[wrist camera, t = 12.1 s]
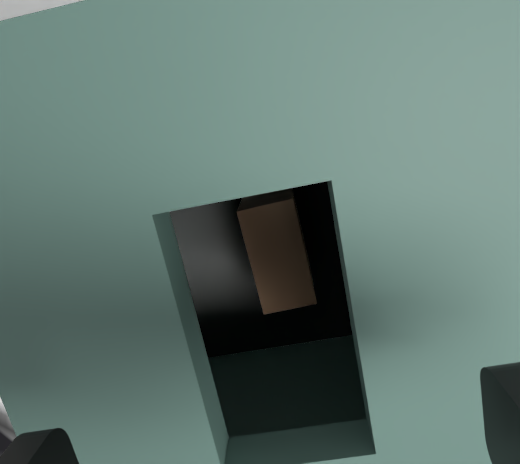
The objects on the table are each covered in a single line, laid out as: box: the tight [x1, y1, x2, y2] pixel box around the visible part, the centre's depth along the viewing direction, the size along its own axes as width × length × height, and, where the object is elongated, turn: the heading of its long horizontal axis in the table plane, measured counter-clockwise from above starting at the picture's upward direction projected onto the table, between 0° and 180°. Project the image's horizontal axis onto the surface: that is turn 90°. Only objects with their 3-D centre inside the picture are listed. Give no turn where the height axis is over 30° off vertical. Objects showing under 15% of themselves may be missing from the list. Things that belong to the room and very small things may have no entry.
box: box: [0, 0, 520, 464], centre depth 18 cm, size 16×18×14 cm
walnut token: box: [237, 188, 317, 314], centre depth 22 cm, size 2×5×6 cm, turn 14°
